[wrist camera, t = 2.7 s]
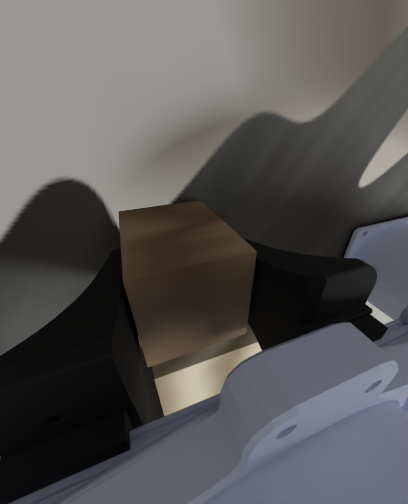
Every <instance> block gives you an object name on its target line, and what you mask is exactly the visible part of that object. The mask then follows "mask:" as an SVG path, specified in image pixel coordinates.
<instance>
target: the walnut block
mask: <svg viewBox="0 0 408 504" xmlns="http://www.w3.org/2000/svg"><path fill="white" fill-rule="evenodd" d="M119 225H120V241H121V257H122V273H123V283H124V287H125V290H126V294H127V297H128V301H129V304H130V307H131V311H132V314H133V318H134V321H135V325H136V328H137V332H138V335H139V339H140V342H141V346H142V349H143V352H144V356H145V359H146V363H147V366H148V367H151V366H154V365H157V364H159V363H162V362H165V361H168V360H171V359H174V358H177V357H180V356H183V355H185V354H188V353H191V352H194V351H197V350H200V349H203V348H206V347H209V346H211V345H214V344H217V343H220V342H223V341H226V340H229V339H232V338H235V337H237V336H240V335H243V334H246V330H247V323H248V315H249V308H250V300H251V292H252V285H253V277H254V270H255V262H256V255H257V251H256V250H255V249H254V248H253V247H252V246H251V245H249V244H248V243H247V242H246V241H245V240H244V239H243V238H242V237H241V236H240V235H238V234H237V233H236V232H235V231H234V230H233V229H232V228H231V227H230V226H229V225H227V224H226V223H225V222H224V221H223V220H222V219H221V218H220V217H219V216H217V215H216V214H215V213H214V212H213V211H212V210H211V209H210V208H209V207H208V206H206V205H205V204H204V203H203V202H202V201H201V200H199V201H191V202H184V203H177V204H170V205H162V206H156V207H148V208H141V209H134V210H126V211H120V212H119Z"/></svg>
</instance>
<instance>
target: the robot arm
mask: <svg viewBox="0 0 408 504" xmlns="http://www.w3.org/2000/svg"><path fill="white" fill-rule="evenodd" d="M243 239H244V240H245V241H246V242H247V243H248V244H249V245H251V246H252V247H253V248H254V249H255V250H256V251H257V255H256V262H255V270H254V277H253V285H252V292H251V300H250V308H249V315H248V324H249V325H250V327H251V329H252V331H253V333H254V335H255V337H256V339H257V341H258V343H259V346H260V348H261V350H262V351H260V352H258V353H256V354H254V355H253V356H251V357H249V358H247V359H245V360H243V361H242V362H240V363H239V364H238V365H237V366H236V367H235V368H234V369H233V370H232V371H231V372H230V373H229V374H228V375H227V377H226V380H225V382H224V384H223V386H222V389H221V392H220V393H219V394H217V395H214V396H212V397H210V398H207V399H205V400H203V401H200V402H198V403H195V404H193V405H191V406H188V407H186V408H183V409H181V410H179V411H176V412H174V413H171V414H169V415H167V416H164V417H162V418H160V419H157V420H155V421H152V422H151V420H150V414H149V408H148V401H147V395H146V388H145V382H144V375H143V368H142V362H141V355H140V348H139V340H138V332H137V328H136V325H135V321H134V318H133V314H132V311H131V307H130V304H129V301H128V297H127V294H126V290H125V287H124V283H123V273H122V257H121V248H119V249H114V250H112V252H111V253H110V255H109V257H108V259H107V260H106V262H105V264H104V265H103V267H102V268H101V270H100V271H99V273H98V274H97V276H96V277H95V278H94V280H93V281H92V282H91V284H90V285H89V286H88V287H87V288H86V290H85V291H84V292H83V293H82V294H81V295H80V296H79V297H78V298H77V299H76V300H75V301H74V302H73V303H72V304H71V305H69V306H68V307H67V308H66V309H65V310H64V311H63V312H61V313H60V314H59V315H58V316H57V317H56V318H54V319H53V320H52V321H51V322H49V323H48V324H47V325H45V326H44V327H43V328H41V329H40V330H39V331H37V332H36V333H34V334H33V335H32V336H30V337H29V338H27V339H26V340H24V341H23V342H21V343H20V344H18V345H16V346H15V347H13V348H12V349H10V350H9V351H7V352H6V353H4V354H3V355H1V356H0V456H1V459H0V504H408V217H405V218H400V219H396V220H391V221H387V222H383V223H378V224H374V225H369V226H365V227H360V228H358V229H356V230H355V231H354V233H353V235H352V237H351V240H350V242H349V245H348V247H347V250H346V253H345V255H344V258H335V257H321V256H312V255H304V254H298V253H292V252H287V251H283V250H279V249H275V248H271V247H268V246H264V245H261V244H258V243H255V242H253V241H250V240H247V239H245V238H243ZM366 301H368V302H369V303H371V304H372V305H374V306H375V307H377V308H378V309H379V310H381V311H382V312H384V313H385V314H386V315H388V316H389V317H391V318H392V319H393V320H394V321H391V322H389V323H387V324H382V323H381V322H379V321H378V320H377V319H376V318H374V317H373V316H372V315H370V314H371V313H372V309H371V308H370V307H368V306H367V305H366V304H365V303H366Z"/></svg>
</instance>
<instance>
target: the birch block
mask: <svg viewBox="0 0 408 504" xmlns="http://www.w3.org/2000/svg"><path fill="white" fill-rule="evenodd" d="M260 351H262V350H261V348H260V346H259V343H258V341H257V339H256V337H255V335H254V333H253V331H252V329H251V327H250V325H249V324H248V323H247V330H246V334H243V335H240V336H237V337H235V338H232V339H229V340H226V341H223V342H220V343H217V344H214V345H211V346H209V347H206V348H203V349H200V350H197V351H194V352H191V353H188V354H185V355H183V356H180V357H177V358H174V359H171V360H168V361H165V362H162V363H159V364H157V365H154V366H152V367H153V373H154V380H155V383H156V387H157V391H158V394H159V398H160V402H161V406H162V409H163V413H164V416H167V415H169V414H171V413H174V412H176V411H179V410H181V409H183V408H186V407H188V406H191V405H193V404H195V403H198V402H200V401H203V400H205V399H207V398H210V397H212V396H214V395H217V394H219V393H220V392H221V389H222V386H223V384H224V382H225V380H226V377H227V375H228V374H229V373H230V372H231V371H232V370H233V369H234V368H235V367H236V366H237V365H238V364H239V363H240V362H242V361H243V360H245V359H247V358H249V357H251V356H253V355H254V354H256V353H258V352H260Z"/></svg>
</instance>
